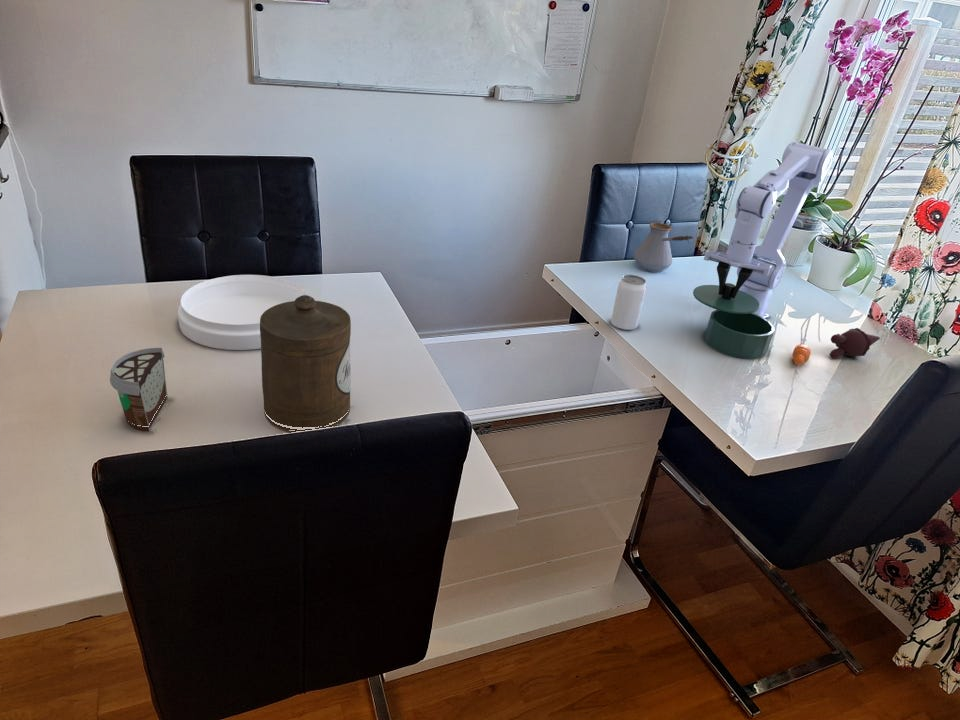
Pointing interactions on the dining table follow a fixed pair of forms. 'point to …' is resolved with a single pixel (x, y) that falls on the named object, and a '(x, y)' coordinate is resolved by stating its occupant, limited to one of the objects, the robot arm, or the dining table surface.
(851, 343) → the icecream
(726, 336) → the pot
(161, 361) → the food container
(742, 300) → the pot lid
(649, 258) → the coffee pot
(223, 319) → the plate
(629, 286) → the can
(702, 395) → the dining table surface
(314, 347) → the wooden container
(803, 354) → the carrot
